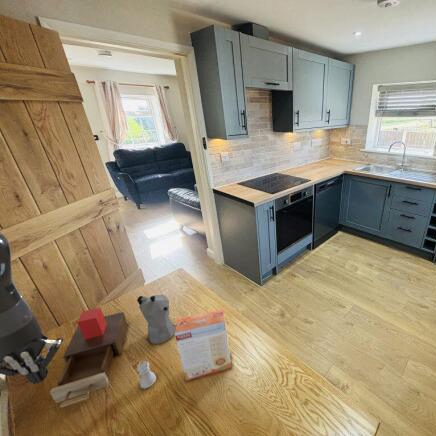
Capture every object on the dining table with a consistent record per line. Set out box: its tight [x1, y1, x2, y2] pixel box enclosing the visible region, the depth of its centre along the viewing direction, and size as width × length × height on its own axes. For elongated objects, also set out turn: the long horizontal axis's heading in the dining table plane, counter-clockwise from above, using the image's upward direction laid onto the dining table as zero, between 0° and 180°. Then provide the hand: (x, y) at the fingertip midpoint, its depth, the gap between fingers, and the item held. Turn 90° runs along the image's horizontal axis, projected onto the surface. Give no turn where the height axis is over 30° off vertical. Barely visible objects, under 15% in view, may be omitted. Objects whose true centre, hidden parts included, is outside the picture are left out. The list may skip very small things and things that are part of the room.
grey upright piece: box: [136, 294, 176, 345], centre depth 87 cm, size 15×9×18 cm, turn 67°
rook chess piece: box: [136, 360, 157, 389], centre depth 73 cm, size 4×4×8 cm
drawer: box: [49, 345, 115, 409], centre depth 73 cm, size 18×12×5 cm
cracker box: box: [174, 308, 232, 382], centre depth 75 cm, size 14×6×21 cm, turn 108°
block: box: [76, 307, 107, 340], centre depth 82 cm, size 5×5×8 cm
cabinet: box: [62, 311, 129, 364], centre depth 84 cm, size 15×14×7 cm
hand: (40, 379), depth 54 cm, fingers closed
